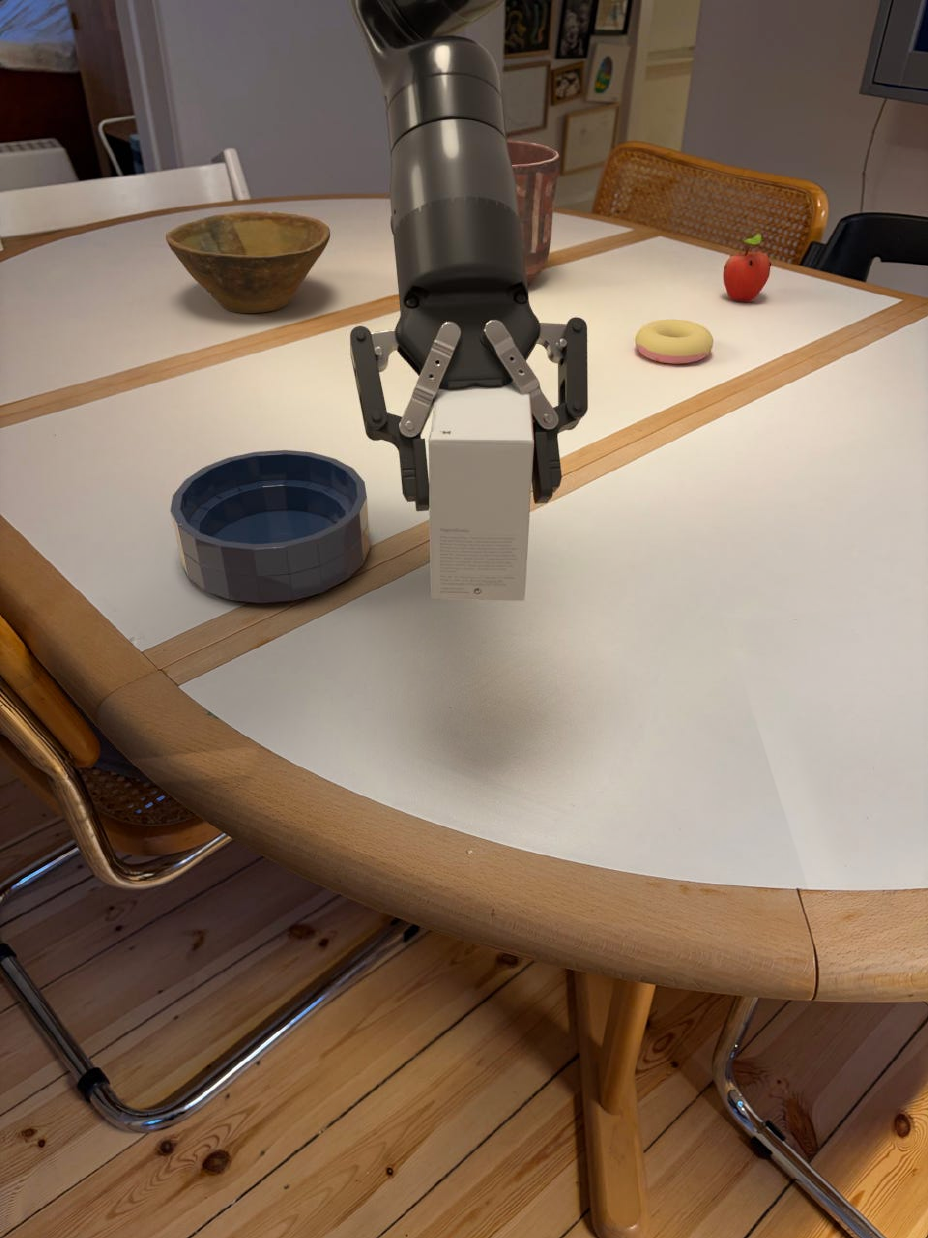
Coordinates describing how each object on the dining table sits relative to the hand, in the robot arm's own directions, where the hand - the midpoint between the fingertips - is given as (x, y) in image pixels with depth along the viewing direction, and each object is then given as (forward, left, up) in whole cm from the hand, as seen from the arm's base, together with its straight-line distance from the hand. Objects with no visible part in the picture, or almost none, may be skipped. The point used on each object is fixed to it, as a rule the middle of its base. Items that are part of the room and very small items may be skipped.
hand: (484, 503), depth 53 cm
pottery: (+19, +99, -20) cm, 103 cm away
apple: (+54, +85, -20) cm, 103 cm away
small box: (0, +2, -6) cm, 6 cm away
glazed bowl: (-14, +27, -20) cm, 36 cm away
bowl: (-17, +93, -20) cm, 97 cm away
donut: (+37, +67, -20) cm, 79 cm away
